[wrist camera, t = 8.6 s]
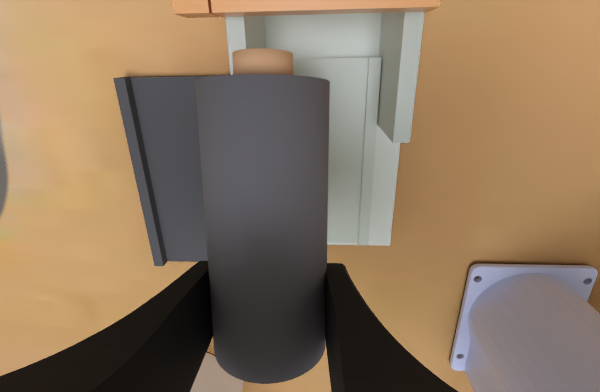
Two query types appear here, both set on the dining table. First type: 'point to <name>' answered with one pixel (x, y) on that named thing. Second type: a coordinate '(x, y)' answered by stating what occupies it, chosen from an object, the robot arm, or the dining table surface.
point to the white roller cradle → (352, 103)
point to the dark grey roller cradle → (166, 163)
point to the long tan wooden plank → (296, 7)
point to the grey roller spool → (265, 214)
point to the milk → (215, 378)
